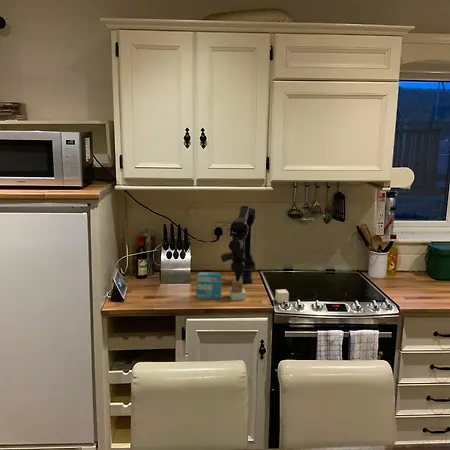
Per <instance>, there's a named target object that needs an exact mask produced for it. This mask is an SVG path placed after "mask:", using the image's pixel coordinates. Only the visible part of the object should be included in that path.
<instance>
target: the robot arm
mask: <svg viewBox="0 0 450 450" xmlns="http://www.w3.org/2000/svg"><path fill="white" fill-rule="evenodd" d="M256 210H257V209H254V208H252V207H251V205H241V206H240V208H239V214H238V217H237V218H235V219H233V221H232V223H231V224H230V227H229V237H231V238H232V239H231V240H230V242H229V243H228V249H229V250H230V251H227V252H224V253H221V254H220V258H221V261H222V263H225V262H227V261H232V262H230V270H231V271H233V272H234V275H235V279H236V281H239V279H243V284H253V273H254V272H256V271H257V270H256V269H257V267H256V266H257V265H256V262H255V260H254V255H253V254H252V230H253V225H254V223H255V222H256V219H257V211H256Z"/></svg>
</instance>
